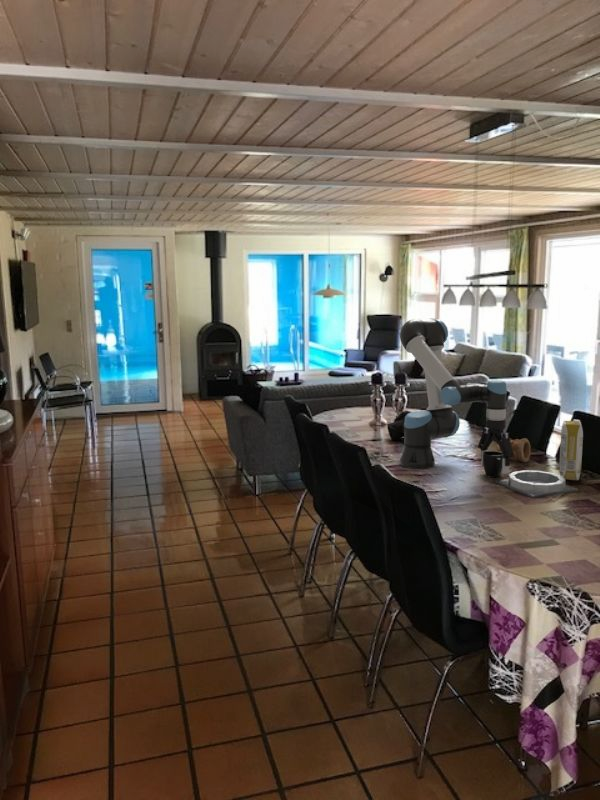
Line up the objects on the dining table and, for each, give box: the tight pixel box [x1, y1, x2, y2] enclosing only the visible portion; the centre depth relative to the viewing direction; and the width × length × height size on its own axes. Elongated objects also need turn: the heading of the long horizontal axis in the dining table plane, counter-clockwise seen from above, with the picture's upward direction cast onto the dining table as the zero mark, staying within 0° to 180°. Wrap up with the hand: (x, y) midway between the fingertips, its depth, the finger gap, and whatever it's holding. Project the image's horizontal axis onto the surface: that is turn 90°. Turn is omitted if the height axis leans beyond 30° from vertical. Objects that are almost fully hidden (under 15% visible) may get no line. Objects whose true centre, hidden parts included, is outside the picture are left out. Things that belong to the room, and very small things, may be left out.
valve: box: [386, 410, 412, 441], centre depth 322 cm, size 22×15×30 cm
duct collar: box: [496, 469, 579, 499], centre depth 245 cm, size 21×21×4 cm
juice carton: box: [559, 419, 584, 481], centre depth 255 cm, size 9×8×24 cm
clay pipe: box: [495, 437, 532, 463], centre depth 287 cm, size 19×11×15 cm
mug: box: [483, 450, 504, 478], centre depth 259 cm, size 8×12×10 cm
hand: (494, 469), depth 259 cm, fingers open, 13 cm apart
